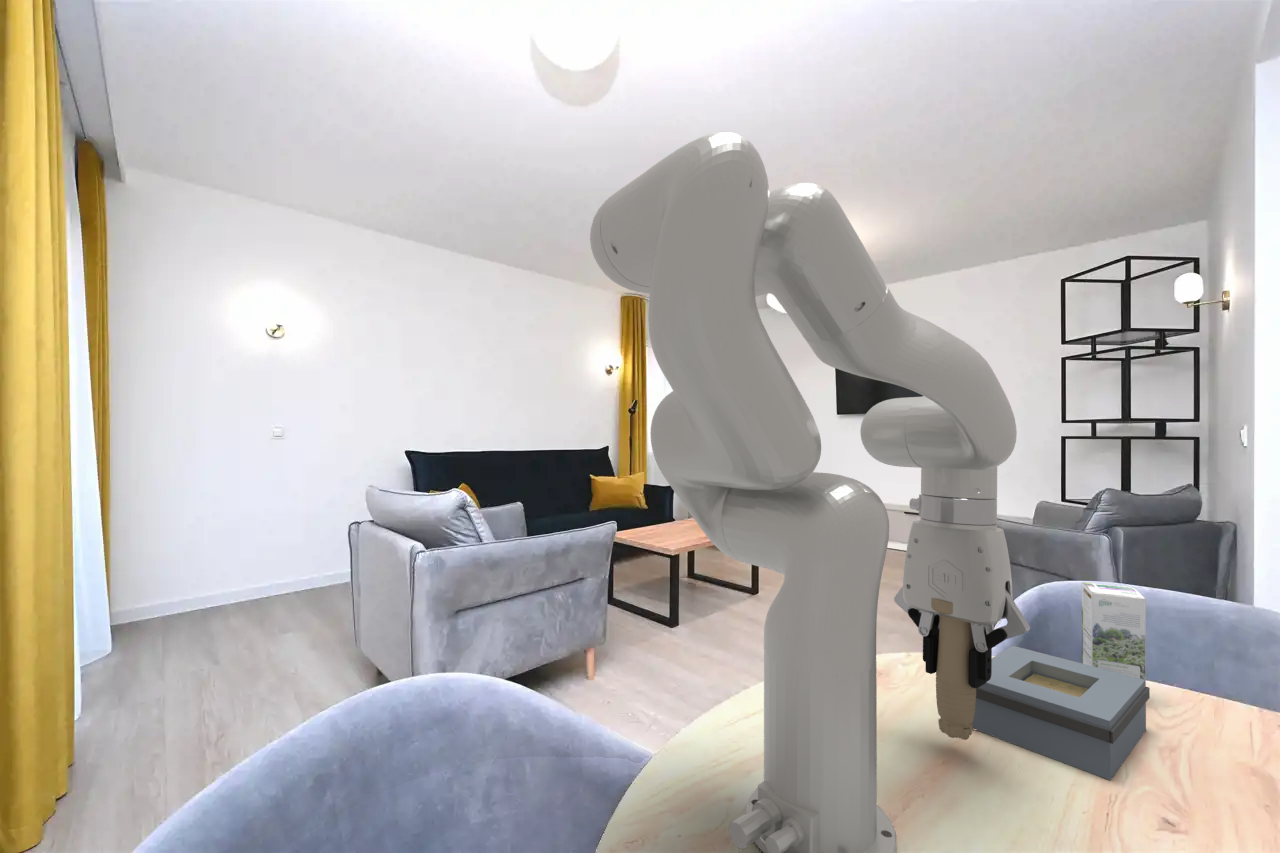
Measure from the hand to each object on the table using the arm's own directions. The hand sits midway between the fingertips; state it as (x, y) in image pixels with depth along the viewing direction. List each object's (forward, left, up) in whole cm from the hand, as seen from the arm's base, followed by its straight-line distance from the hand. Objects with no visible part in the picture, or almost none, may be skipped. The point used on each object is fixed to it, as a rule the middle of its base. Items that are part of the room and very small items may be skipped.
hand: (955, 675), depth 63 cm
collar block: (+15, -5, -8) cm, 18 cm away
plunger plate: (+15, -5, -5) cm, 16 cm away
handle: (0, 0, -6) cm, 6 cm away
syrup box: (+32, -7, -9) cm, 34 cm away
